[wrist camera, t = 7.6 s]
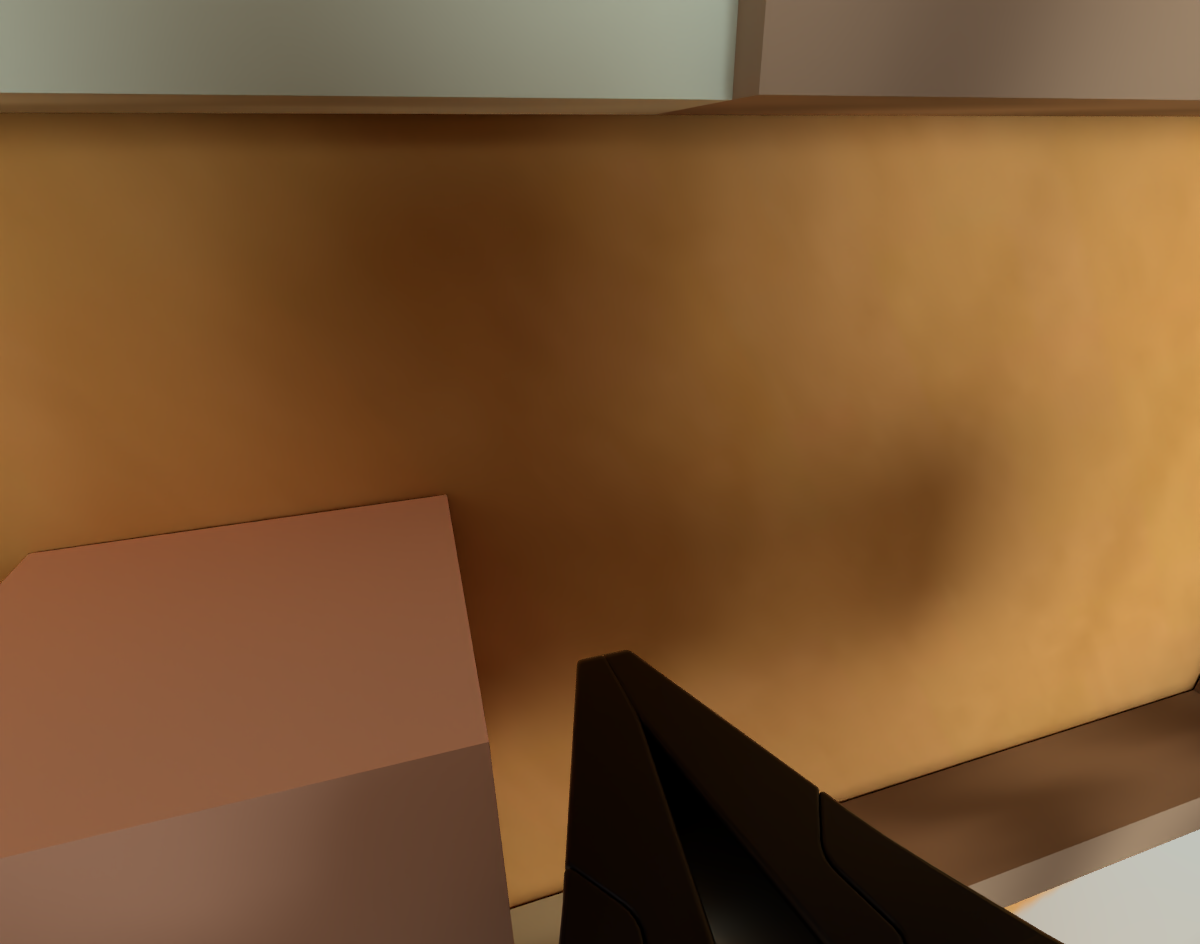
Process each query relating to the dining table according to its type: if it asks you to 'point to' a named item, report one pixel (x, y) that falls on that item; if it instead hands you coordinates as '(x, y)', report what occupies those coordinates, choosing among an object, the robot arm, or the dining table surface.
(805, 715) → the dining table surface
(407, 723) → the block
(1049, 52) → the bay
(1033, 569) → the dining table surface
